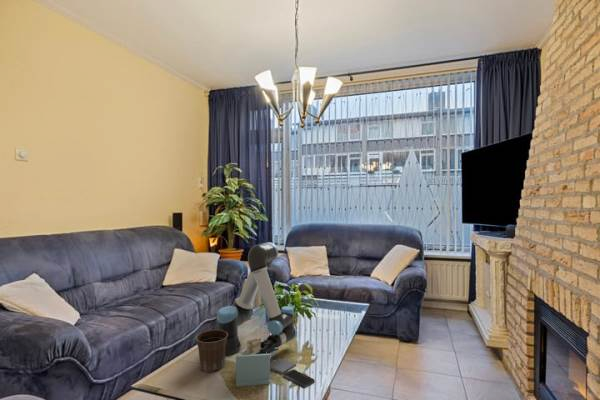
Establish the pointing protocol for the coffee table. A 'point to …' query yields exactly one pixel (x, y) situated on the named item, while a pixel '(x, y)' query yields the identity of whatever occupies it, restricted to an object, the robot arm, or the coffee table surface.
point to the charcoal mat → (281, 365)
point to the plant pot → (212, 349)
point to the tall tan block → (253, 345)
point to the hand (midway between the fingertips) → (246, 355)
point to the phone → (299, 378)
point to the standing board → (252, 369)
